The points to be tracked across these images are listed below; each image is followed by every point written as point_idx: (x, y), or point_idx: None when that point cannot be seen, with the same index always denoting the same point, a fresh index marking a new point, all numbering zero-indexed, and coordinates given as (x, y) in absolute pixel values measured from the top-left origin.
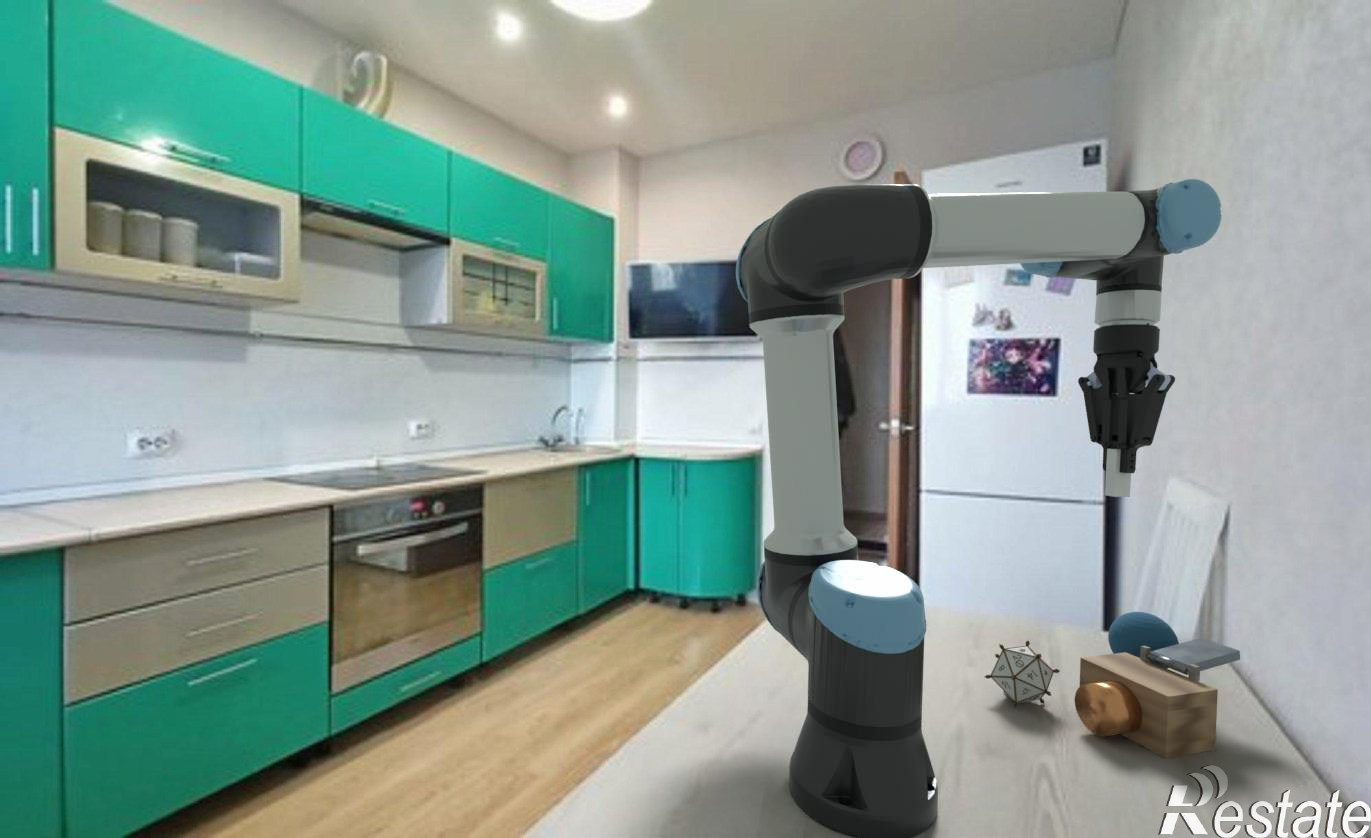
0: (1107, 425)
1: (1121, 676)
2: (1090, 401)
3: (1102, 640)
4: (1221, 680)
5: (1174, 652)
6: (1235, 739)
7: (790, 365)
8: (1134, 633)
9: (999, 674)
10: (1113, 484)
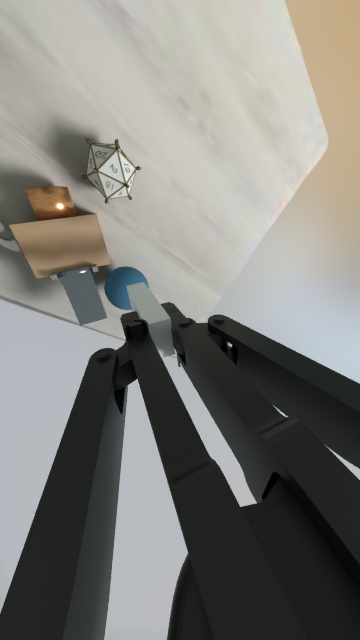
0: (202, 353)
1: (54, 219)
2: (324, 385)
3: (197, 310)
4: None
5: (84, 283)
6: (62, 290)
7: None
8: (116, 276)
9: (107, 144)
10: (132, 292)
